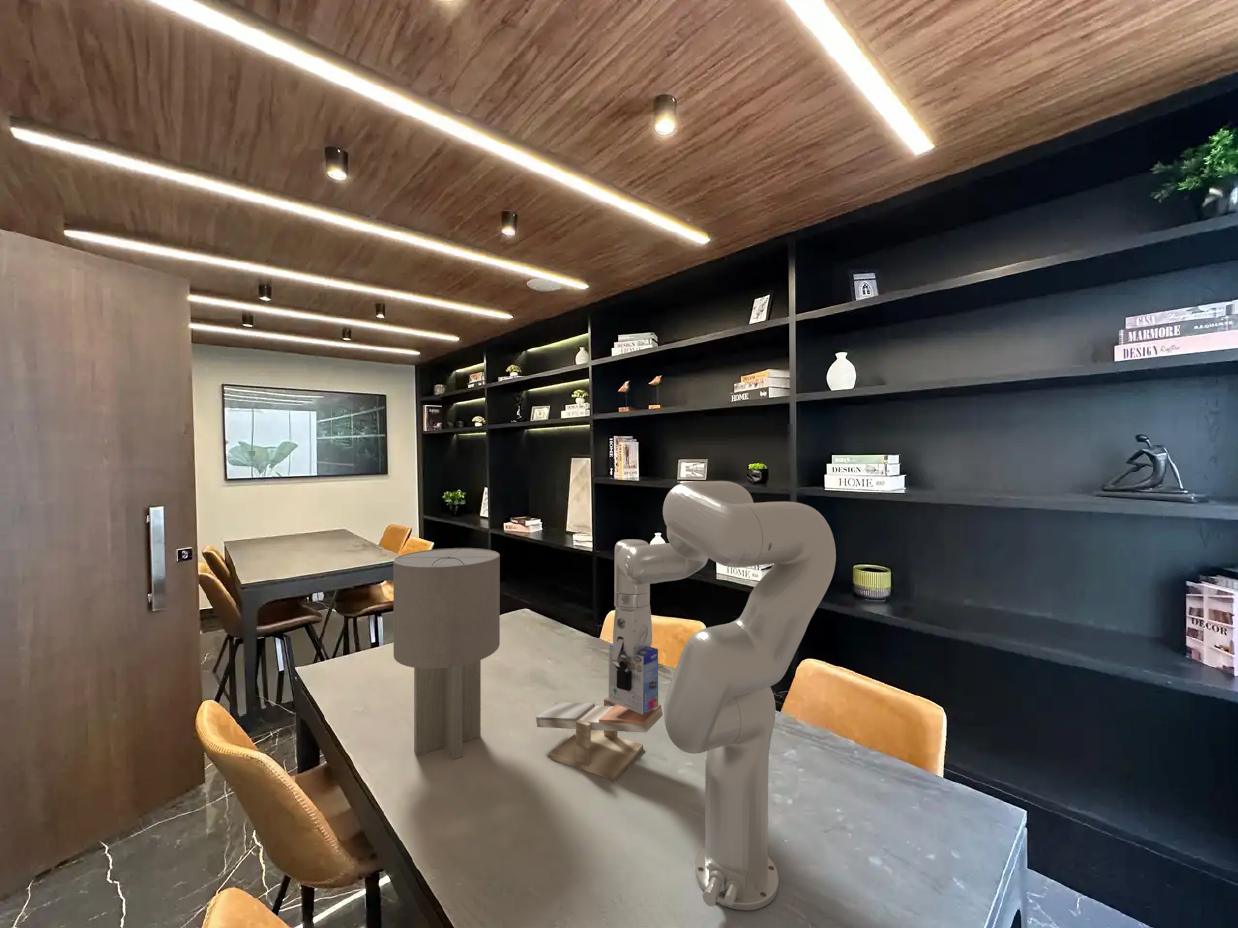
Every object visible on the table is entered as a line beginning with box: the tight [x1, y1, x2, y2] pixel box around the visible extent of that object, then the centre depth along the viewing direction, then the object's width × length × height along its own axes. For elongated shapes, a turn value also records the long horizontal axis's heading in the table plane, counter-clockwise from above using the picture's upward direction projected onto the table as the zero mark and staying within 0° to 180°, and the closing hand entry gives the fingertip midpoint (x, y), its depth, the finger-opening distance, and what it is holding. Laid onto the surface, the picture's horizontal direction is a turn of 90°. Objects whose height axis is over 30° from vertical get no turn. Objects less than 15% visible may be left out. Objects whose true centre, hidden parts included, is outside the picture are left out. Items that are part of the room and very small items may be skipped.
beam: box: [535, 701, 664, 733], centre depth 112 cm, size 28×10×2 cm, turn 61°
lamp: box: [392, 547, 501, 761], centre depth 116 cm, size 23×23×43 cm
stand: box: [550, 697, 644, 781], centre depth 112 cm, size 16×13×10 cm
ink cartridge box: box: [607, 643, 659, 714], centre depth 108 cm, size 10×6×14 cm, turn 50°
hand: (631, 681), depth 108 cm, fingers closed on ink cartridge box, 6 cm apart
